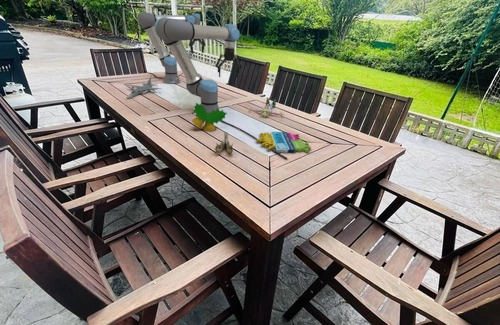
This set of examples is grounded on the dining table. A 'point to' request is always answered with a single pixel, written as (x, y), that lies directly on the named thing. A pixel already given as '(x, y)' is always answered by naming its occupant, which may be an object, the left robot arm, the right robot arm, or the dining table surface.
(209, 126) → the ornament
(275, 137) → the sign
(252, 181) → the dining table surface
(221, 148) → the jawbone
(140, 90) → the airplane
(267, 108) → the toy
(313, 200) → the dining table surface
